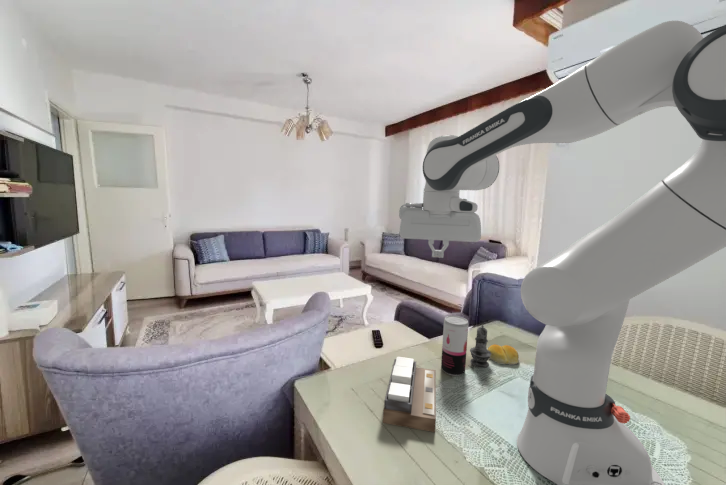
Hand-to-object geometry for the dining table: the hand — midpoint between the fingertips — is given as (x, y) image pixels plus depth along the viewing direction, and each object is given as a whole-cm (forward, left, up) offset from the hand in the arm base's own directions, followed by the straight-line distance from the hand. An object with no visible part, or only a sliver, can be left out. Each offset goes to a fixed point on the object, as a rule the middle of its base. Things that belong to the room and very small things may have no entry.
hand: (437, 257), depth 81 cm
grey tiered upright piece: (-14, -10, -33) cm, 38 cm away
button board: (+4, +12, -33) cm, 35 cm away
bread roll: (-22, -15, -34) cm, 43 cm away
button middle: (+7, +12, -29) cm, 32 cm away
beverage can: (-6, -4, -33) cm, 34 cm away
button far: (+7, +6, -29) cm, 31 cm away
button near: (+7, +18, -30) cm, 35 cm away
